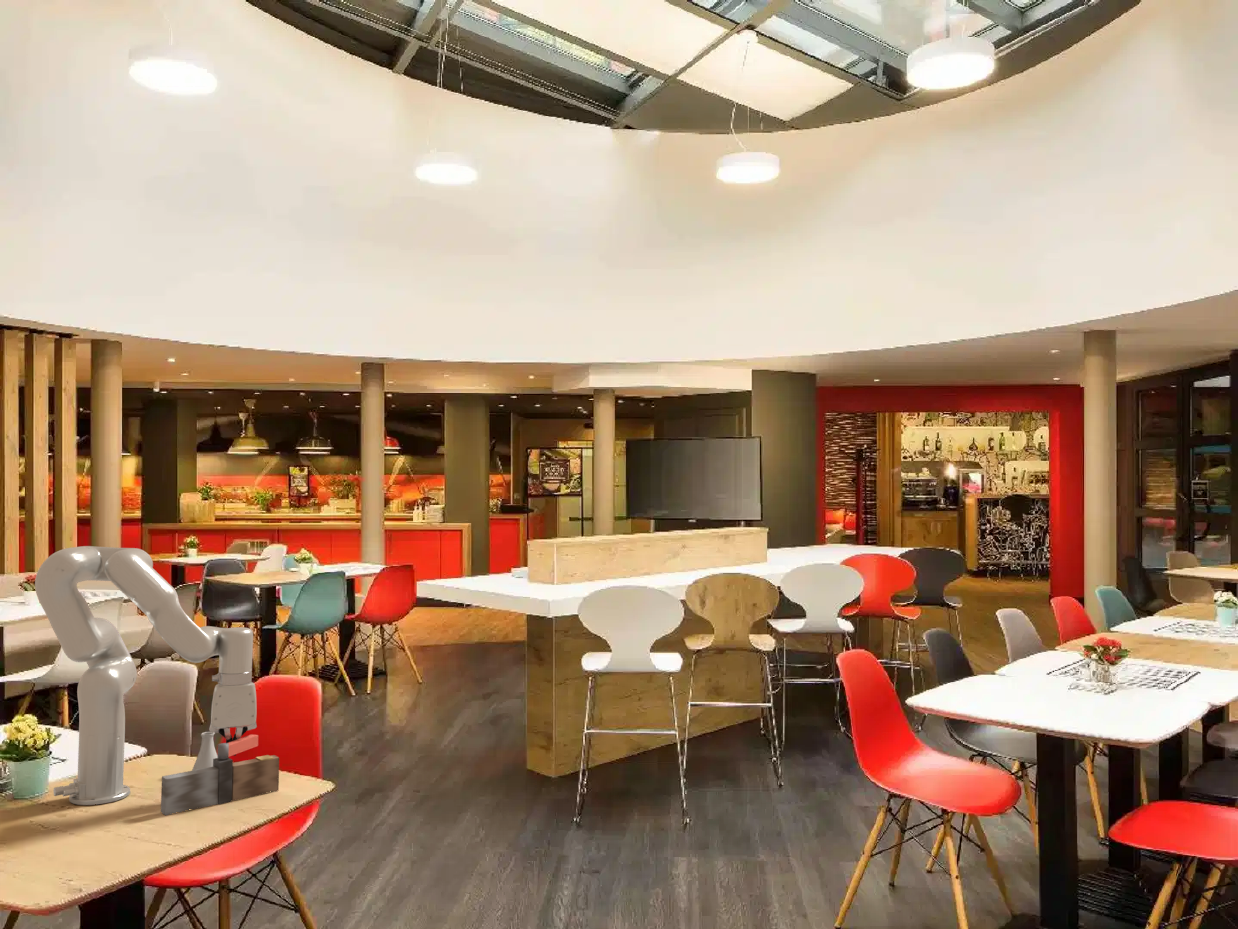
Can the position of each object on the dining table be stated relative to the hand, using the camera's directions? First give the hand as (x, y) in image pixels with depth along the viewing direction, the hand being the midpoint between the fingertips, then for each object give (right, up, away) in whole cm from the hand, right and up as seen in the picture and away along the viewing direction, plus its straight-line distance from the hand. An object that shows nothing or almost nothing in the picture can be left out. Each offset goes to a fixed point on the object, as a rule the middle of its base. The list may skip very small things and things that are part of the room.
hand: (232, 754), depth 223 cm
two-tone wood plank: (+1, -8, -8) cm, 12 cm away
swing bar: (+3, +1, -3) cm, 4 cm away
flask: (-13, -9, +15) cm, 21 cm away
